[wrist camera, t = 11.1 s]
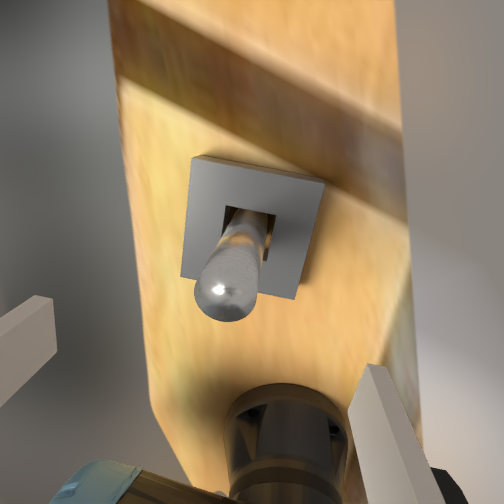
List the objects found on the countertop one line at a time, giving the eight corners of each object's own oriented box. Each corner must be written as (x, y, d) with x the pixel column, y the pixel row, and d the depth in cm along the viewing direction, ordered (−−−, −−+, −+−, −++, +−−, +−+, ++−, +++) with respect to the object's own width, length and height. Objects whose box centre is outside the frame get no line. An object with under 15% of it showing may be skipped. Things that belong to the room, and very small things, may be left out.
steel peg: (264, 241, 30) (250, 327, 17) (230, 234, 30) (191, 314, 17) (271, 208, 29) (262, 274, 16) (236, 201, 29) (197, 260, 16)
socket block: (293, 284, 32) (294, 299, 29) (189, 263, 32) (180, 276, 29) (321, 178, 27) (325, 183, 24) (200, 154, 27) (191, 158, 25)
